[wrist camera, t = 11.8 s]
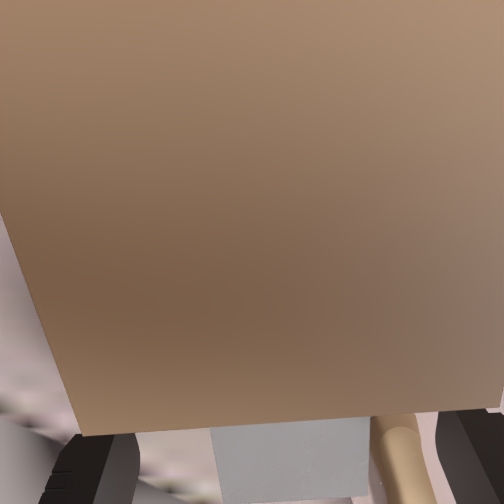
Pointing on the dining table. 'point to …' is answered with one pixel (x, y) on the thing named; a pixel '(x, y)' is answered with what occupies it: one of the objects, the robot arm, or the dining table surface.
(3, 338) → the dining table surface
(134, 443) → the robot arm
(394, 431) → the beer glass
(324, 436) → the brushed grey block
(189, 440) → the dining table surface
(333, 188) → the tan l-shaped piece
